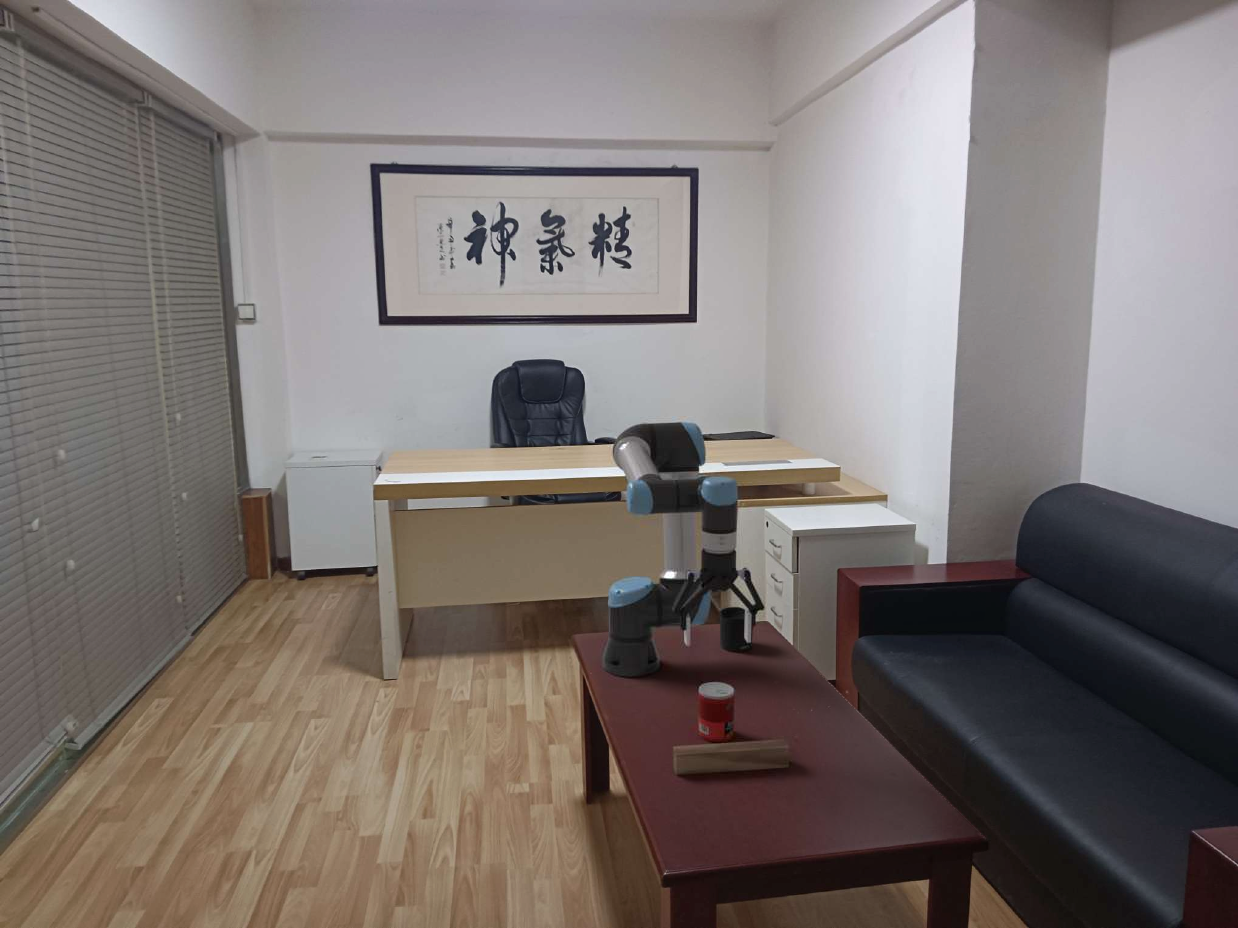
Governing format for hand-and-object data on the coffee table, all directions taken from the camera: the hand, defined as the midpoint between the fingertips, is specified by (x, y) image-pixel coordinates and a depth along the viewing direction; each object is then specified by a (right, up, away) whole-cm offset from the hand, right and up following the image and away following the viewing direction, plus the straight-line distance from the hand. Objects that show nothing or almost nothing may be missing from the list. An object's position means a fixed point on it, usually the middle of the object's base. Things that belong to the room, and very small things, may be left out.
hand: (717, 641), depth 197 cm
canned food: (0, -22, +4) cm, 22 cm away
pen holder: (+11, -12, +54) cm, 57 cm away
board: (+2, -24, -9) cm, 26 cm away
